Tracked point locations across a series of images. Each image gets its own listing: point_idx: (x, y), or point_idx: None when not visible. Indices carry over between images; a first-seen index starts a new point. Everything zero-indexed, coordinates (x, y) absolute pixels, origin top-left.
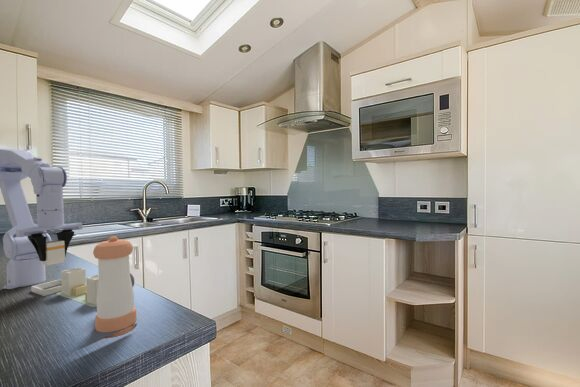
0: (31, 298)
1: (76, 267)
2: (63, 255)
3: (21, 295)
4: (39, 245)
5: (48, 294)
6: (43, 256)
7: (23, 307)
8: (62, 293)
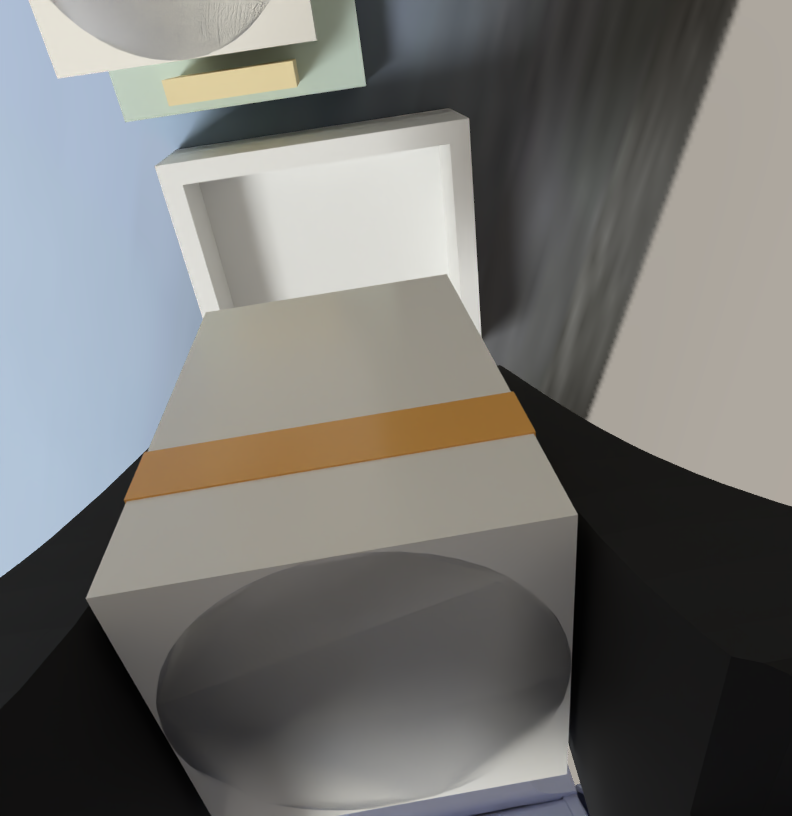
0: (488, 279)
1: (79, 71)
2: (209, 363)
3: None
4: (726, 496)
5: (418, 119)
6: (525, 384)
7: (606, 55)
8: (317, 14)
